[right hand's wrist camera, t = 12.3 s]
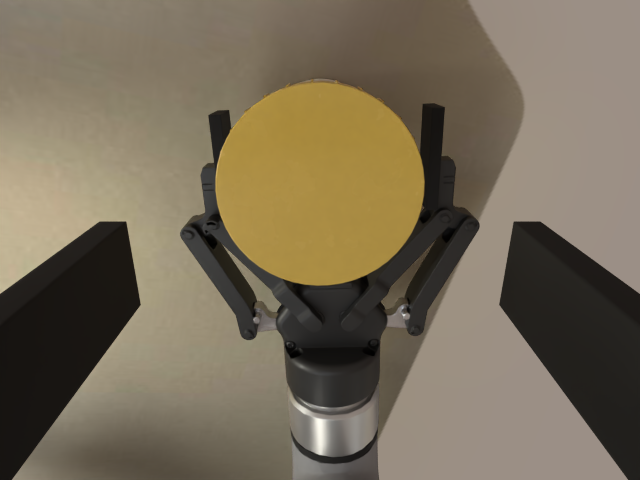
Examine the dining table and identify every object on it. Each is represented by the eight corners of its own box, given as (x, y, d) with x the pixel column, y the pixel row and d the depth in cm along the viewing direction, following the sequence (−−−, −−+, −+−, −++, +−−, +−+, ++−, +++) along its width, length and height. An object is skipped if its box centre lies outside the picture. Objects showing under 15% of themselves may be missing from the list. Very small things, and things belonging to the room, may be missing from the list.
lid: (343, 33, 20) (346, 30, 18) (452, 201, 22) (464, 214, 20) (183, 160, 22) (169, 170, 20) (301, 299, 25) (299, 320, 23)
